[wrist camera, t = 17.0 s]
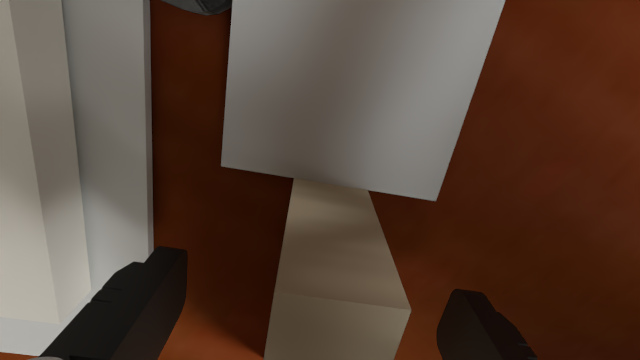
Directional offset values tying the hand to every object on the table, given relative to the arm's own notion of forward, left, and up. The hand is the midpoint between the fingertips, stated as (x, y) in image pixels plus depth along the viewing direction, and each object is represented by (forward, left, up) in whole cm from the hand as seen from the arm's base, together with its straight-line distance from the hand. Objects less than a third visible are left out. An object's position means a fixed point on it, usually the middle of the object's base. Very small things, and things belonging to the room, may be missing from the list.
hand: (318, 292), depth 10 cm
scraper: (0, -3, -3) cm, 4 cm away
